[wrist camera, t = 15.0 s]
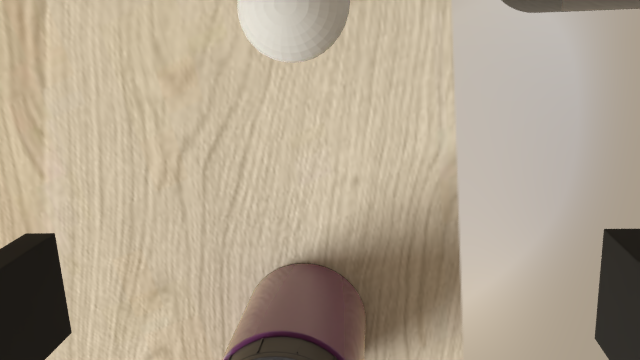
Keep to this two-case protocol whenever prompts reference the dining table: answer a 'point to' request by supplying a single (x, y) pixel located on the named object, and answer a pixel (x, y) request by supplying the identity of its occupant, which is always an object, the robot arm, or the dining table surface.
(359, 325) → the jar
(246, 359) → the jar lid
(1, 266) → the robot arm
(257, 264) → the dining table surface
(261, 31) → the lollipop
